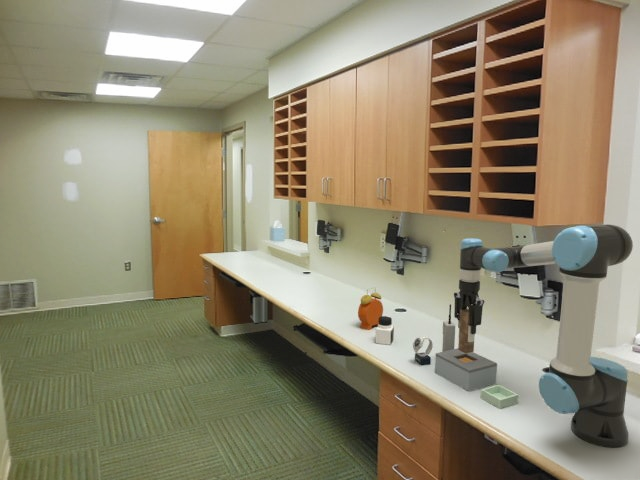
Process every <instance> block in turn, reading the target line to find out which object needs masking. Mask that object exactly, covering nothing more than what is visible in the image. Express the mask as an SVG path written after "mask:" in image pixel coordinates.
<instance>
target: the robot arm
mask: <svg viewBox="0 0 640 480" xmlns="http://www.w3.org/2000/svg"><path fill="white" fill-rule="evenodd" d="M633 247H634V245H633V239H632V237H631V236H630V233H628V231H627V230H625V229H624V228H623V227H621V226H618V225H616V224H615V225H614V224H597V225H595V224H594V225H576V226H573V227H572V226H571V227H568V228H564V229H563V230H562V231H561V232H559V233H558V234H557V235H556V236H555V238H554V239H553V240H552V241H551V240H550V241H545V242H538V243H533V244H525V245H519V246H510V247H495V248H493V247H492V248H489V247H485V246H483V240H482V239H480V238H475V237H474V238H472V237H471V238H470V237H469V238H467V237H466V238H464V239H462V240H461V245H460V253H459V255H460V260H459V278H458V279H459V281H458V289H459V291H458V292H453V297H454V311H453V312H454V313H453V314H454V316H453V317H454V318H455V319H457V321H458V322H457V323H458V324H457V325H458V327H457V328H458V329H459V326H460V310H463V309H469V312H470V313H469V316H470V324H469V325H468V342H473V341H474V342H475V336H476V334H477V326H480V325H482V319H483V317H482V316H483V306H484V304H485V300H484V299H481V298H480V297H479V291H481V289H480V288H481V281H480V280H481V272H482V269H484V270H487V271H489V272H492V273H493V272H495V273H501V272H504V271H505V270H506V269H515V268H528V267H535V266H545V265H557V267H559V270H558V272H559V273H560V275H561V276H562V277H563V278H564V280H563V281H564V282H563V290H562V299H561V306H560V307H561V308H560V318H559V328H558V336H557V337H558V338H557V346H556V347H557V348H556V356H555V357H554V358H552V359H550V361H549V369H548V372H545V373H544V374H542V375H541V376H540V377H539V379H538V389H539V393H540V396H541V398H542V399H543V400H544V403H545V404H546V405H547V406H548V407H549V408H550V409H552V410H553V411H554V412H555V413H558V414H561V415H569V414H573V416H572V417H571V421H570V429H571V431H572V432H573V434H575V435H576V437H578V438H580V439H581V440H583V441H585V442H588V443H591V444H594V445H596V446H601V447H606V448H620V447H624V446H626V445H627V444H628V442H629V431H628V428H627V423H626V419H625V415H624V413H625V412H624V411H625V403H626V395H627V388H628V386H627V385H628V383H629V380H628V374H629V373H628V370H627V369H626V367H625V366H624V365H622V364H620V363H618V362H616V361H613V360H610V359H607V358H602V357H598V356H597V357H596V356H592V350H593V349H592V348H593V340H594V339H593V338H594V333H595V332H594V330H595V322H596V316H597V315H596V314H597V305H598V299H599V298H598V297H599V287H600V282H602V281H603V280H605V279H607V275H608V267H610V266H611V267H612V266H617V265H619V264H621V263H623V262H624V261H626V260H627V259H628V258H629V257H630V255H631V254H632V251H633Z"/></svg>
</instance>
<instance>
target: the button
mask: <svg viewBox="0 0 640 480" xmlns="http://www.w3.org/2000/svg"><path fill="white" fill-rule="evenodd" d="M459 360H461V361H463V362H465V363H467V362H471V361H472V360H470V359H468V358H466V357H464V358H460V359H459Z"/></svg>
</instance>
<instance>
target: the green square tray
mask: <svg viewBox="0 0 640 480" xmlns="http://www.w3.org/2000/svg"><path fill="white" fill-rule="evenodd" d="M480 399H482V400H483V401H486V402H487V403H489V404H491V405H493V406H494V407H496V408H498V409H503V408H506V407H510V406H513V405H516V404H518V402H519V394H518V393H516V392H514V391H512V390H510V389H508V388H506V387H504V386H502V385H501V384H496V385H495V384H494V385H493V386H492V385H491V386H488V387H485V388H481V390H480Z"/></svg>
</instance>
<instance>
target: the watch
mask: <svg viewBox="0 0 640 480" xmlns="http://www.w3.org/2000/svg"><path fill="white" fill-rule="evenodd" d="M425 340H428V341H429V343H428V346H427V348H426V350H425V352H419V350H420V349H422V347H423V344H424V342H425ZM433 345H434V343H433V342H432V340H431V339H430V338H429V337H427V336H419V337H417V338H415V339H414V341H413V343H412V348H413V351H414V352H415V353H414V362H416V363H417V364H418V365H420V366H421V367H422V366H430V365H431V364H432V363H431V361H432V359H431V356H429V354H430V353H431V352H432V349H433Z"/></svg>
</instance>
